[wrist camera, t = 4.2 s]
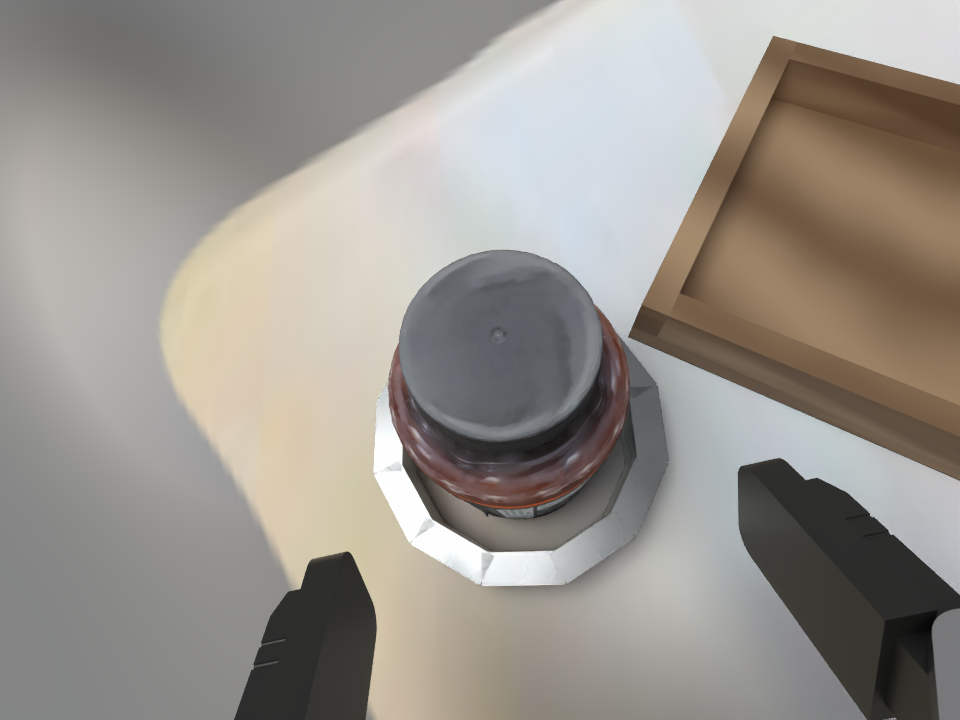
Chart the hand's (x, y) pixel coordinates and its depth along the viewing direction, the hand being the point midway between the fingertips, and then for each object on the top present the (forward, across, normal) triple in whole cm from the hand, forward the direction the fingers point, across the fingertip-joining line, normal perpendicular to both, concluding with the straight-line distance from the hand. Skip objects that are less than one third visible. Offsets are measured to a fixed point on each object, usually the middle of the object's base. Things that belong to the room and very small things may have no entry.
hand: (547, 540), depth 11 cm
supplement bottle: (+9, 0, +4) cm, 10 cm away
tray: (+12, -15, +1) cm, 19 cm away
